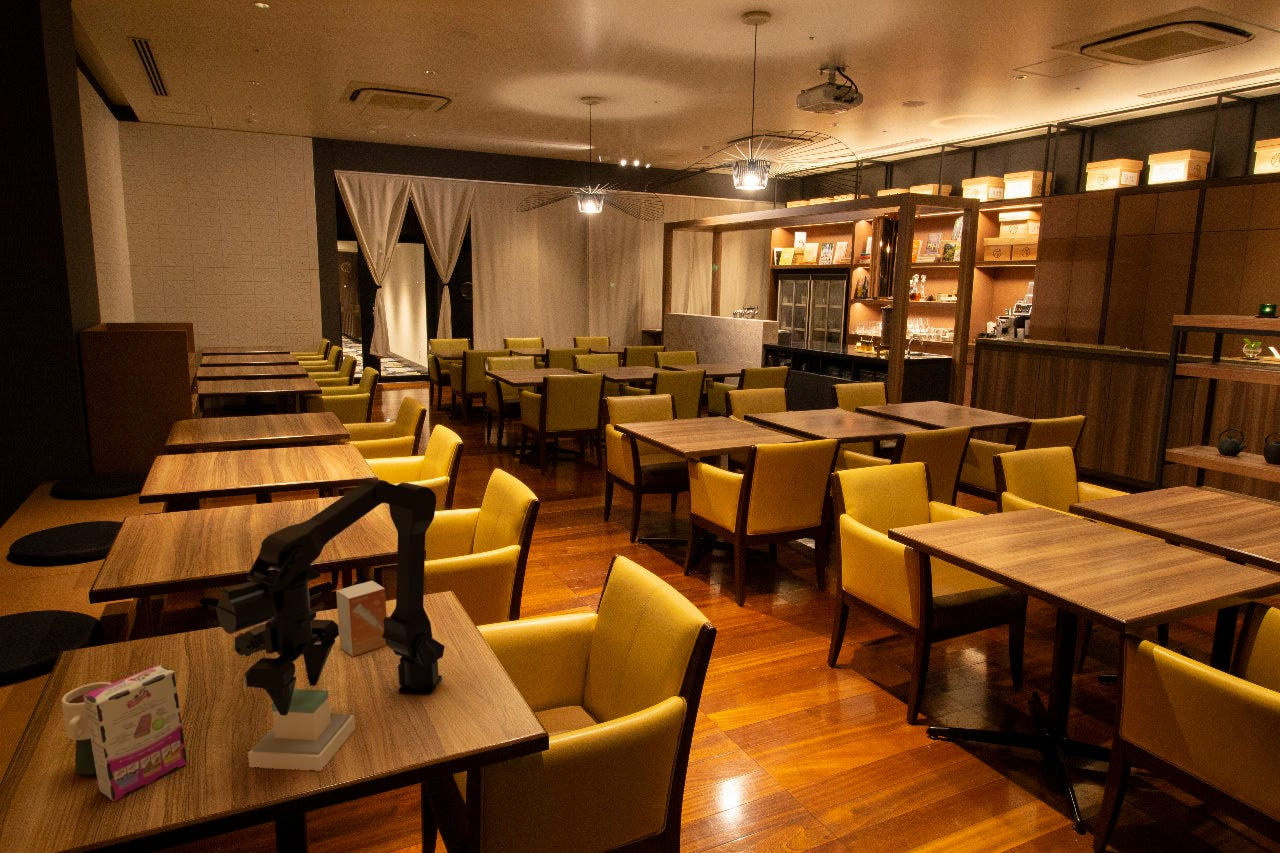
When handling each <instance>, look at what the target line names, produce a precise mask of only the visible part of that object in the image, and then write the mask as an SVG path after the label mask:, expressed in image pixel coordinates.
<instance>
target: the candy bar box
mask: <svg viewBox="0 0 1280 853" xmlns="http://www.w3.org/2000/svg"><path fill="white" fill-rule="evenodd" d="M111 683H112V684H110V685H107V686H105V687H102V688H100V689H97V690H95V691H92V692H90V693H88V694H85V695H83V697H84V703H85V709H86V714H87V720H88V725H89V732H90V737H91V744H92V750H93V755H94V762H95V767H96V773H97V774H96V778H97V784H98V789H99V792H100V793H101V794H102V795H104V796H105V797H107V798H108V799H109V800H110V801H112V802H117V801H119V800H120V799H122V798H124V797H126V796H128V795H130V794H132V793H134V792H136V791H138V790H140V789H142V788H144V787H146V786H147V785H149V784H151V783H153V782H155V781H157V780H159V779H161V778H163V777H165V776H167V775H169V774H170V773H172V772H175V771H176V770H178V769H180V768H182V767H183V766H186V765H187V764H188V759H187V750H186V744H185V737H184V731H183V730H184V729H183V723H182V717H181V709H180V703H179V694H178V689H177V682H176V674H175V671H174V670H172V669H170V668H167V667H166V666H164V665H162V664H157V665H154V666H152V667H149V668H146V669H145V670H141V671H140V672H137V673H135V674H131V675H130V676H126V677H125V678H122V679H119V680H118V681H114V682H111Z"/></svg>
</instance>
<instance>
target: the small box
mask: <svg viewBox="0 0 1280 853" xmlns="http://www.w3.org/2000/svg"><path fill="white" fill-rule="evenodd" d="M335 593H336V605H337V619H338V620H337V621H338V623H337V624H338V628H339V646H340V648H341V649H342V650H343V651H344V652H346V653H347V654H348V655H350V656H351V657H352V658H353V657H356V656H360V655H361V654H365V653H367V652H371V651H374V650H377V649H380V648H384V647H386V646H387V645H386V641H385V639H384V638H382V636H383V633H384V622H383V621H384V618H385V617H388V614H387V601H386V599H387V598H386V589H385V587H383V586H381V585H380V584H378V583H377V582H375V581H374V580H369V581H366V582H362V583H357V584H353V585H350V586H348V587H344V588H340V589H337V590H336V591H335ZM387 647H388V646H387Z"/></svg>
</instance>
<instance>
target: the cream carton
mask: <svg viewBox="0 0 1280 853" xmlns="http://www.w3.org/2000/svg"><path fill="white" fill-rule="evenodd" d="M271 711H272V712H271V713H272V719H273V720H272V721H273V723H272V724H273V727H274V733H275V738H283V739H301V740H317V738H318V737H319V736H320V735H321V734H322V733H323V732H324V730H325V729H326V728H327V727H328V726H329V725H330V724H331V719H330V713H331V710H330V698H329V690H327V689H326V690H325V689H324V690H323V689H308V688H307V689H306V688H305V689H302V688H294V691H293V696H292V700H291V704H290V708H289V712H288V714H287V715H280V713H279V712H278V710H277V708H276V706H275V705H274V703H273V702H272V704H271Z"/></svg>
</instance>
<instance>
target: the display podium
mask: <svg viewBox="0 0 1280 853" xmlns="http://www.w3.org/2000/svg"><path fill="white" fill-rule="evenodd" d="M330 719H331V724H330V725H329V726H328V727H327V728H326V729H325V730H324V732H323V733H322V734H321V735H320V736H319V737H318V738H317V740H301V739H283V738H275V733H274V726H273V727H272V728H271V729H270V730H269V731H268V732H267V733H266V734H265V735H264V736H263V737H262V738H261V739H260V740H259V741H258V742H257V743H256V744H255V745H254V746H253V747H252V748H251V749H250V751H248V752H247V758H248V766H249V768H254V767H256V768H257V767H259V768H258V769H272V768H273V770H290V769H291V770H293V771H294V770H295V769H296V770H295V771H297V770H298V769H299V770H298V771H309V770H315V771H314V772H322V771H323V770H324V768H325V767H326V766H327V765H328V763H330V761H331V760H332V758H333V757H334V756H335V755H336V753H337V752H338V751H339V750H340V748H341V747H342V746H343V744H344V743H345V742H346V740H347V739H349V737H350V736H351V734H352V733H353V732H354V731H355V729H356V721H355V720H356V719H355V715H353V714H350V713H334V712H330ZM325 765H326V766H325ZM323 767H324V768H323ZM256 768H255V769H256ZM321 770H322V771H321Z"/></svg>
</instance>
